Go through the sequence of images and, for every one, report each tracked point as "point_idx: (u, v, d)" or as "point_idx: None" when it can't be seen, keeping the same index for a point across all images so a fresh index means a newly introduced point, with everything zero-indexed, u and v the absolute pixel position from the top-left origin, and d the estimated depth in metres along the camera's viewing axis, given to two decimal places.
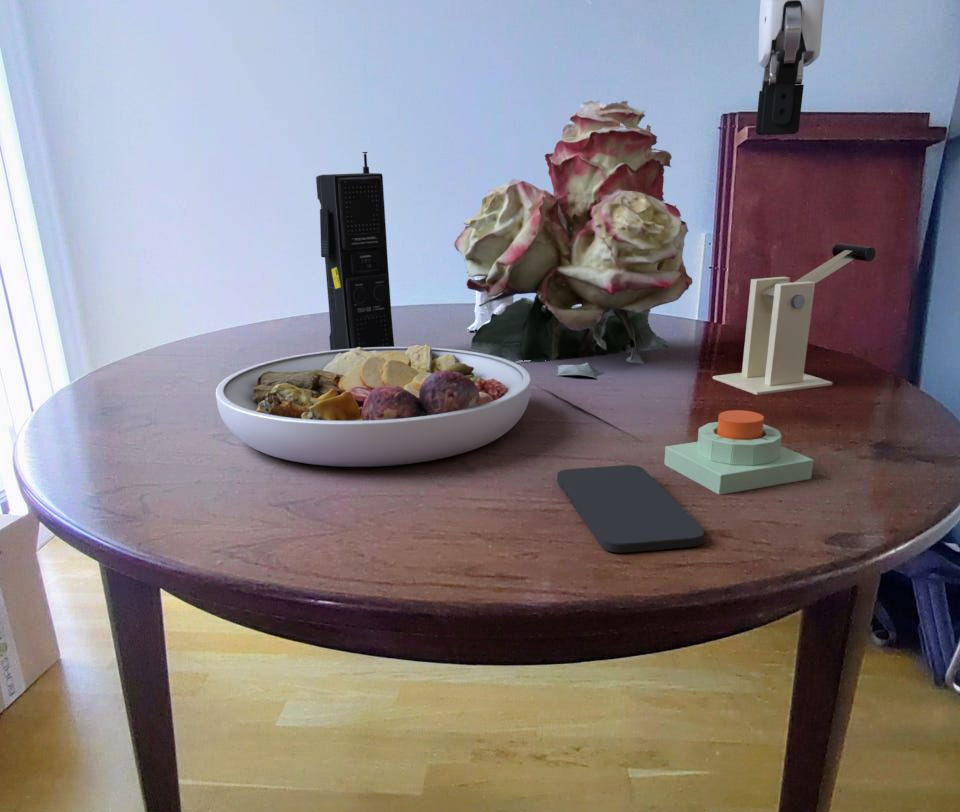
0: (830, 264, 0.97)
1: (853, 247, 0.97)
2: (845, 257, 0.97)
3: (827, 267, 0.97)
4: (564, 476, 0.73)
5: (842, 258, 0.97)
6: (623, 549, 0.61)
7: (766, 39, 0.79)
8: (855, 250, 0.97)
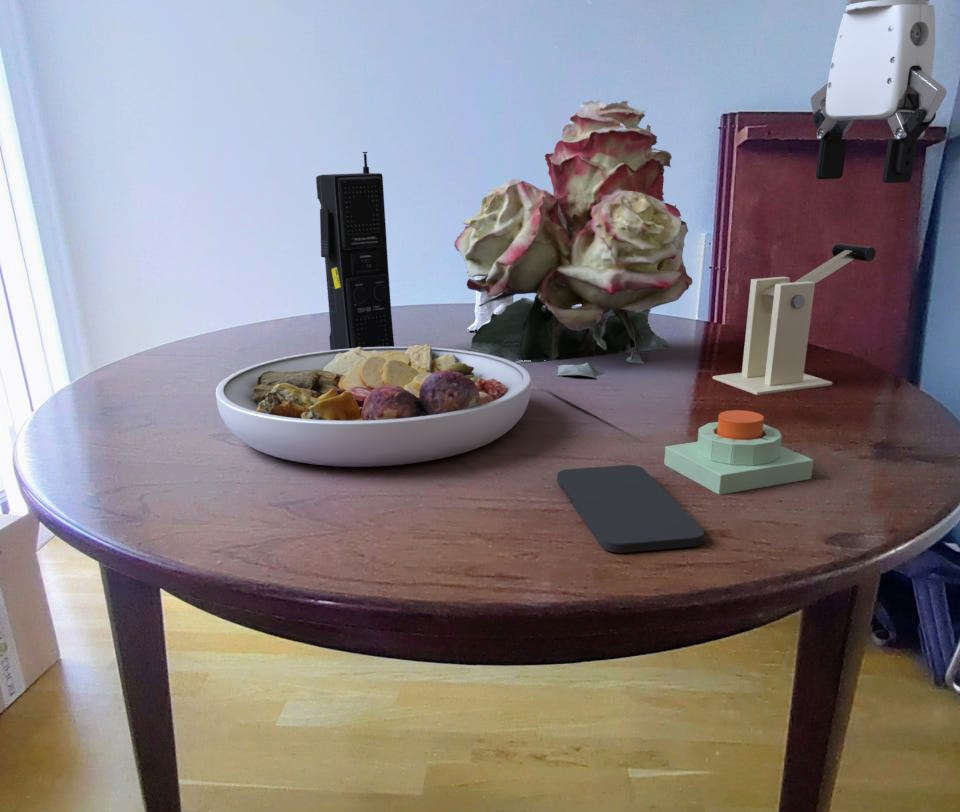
0: (830, 264, 0.97)
1: (853, 247, 0.97)
2: (845, 257, 0.97)
3: (827, 267, 0.97)
4: (564, 476, 0.73)
5: (842, 258, 0.97)
6: (623, 549, 0.61)
7: (893, 98, 0.88)
8: (855, 250, 0.97)
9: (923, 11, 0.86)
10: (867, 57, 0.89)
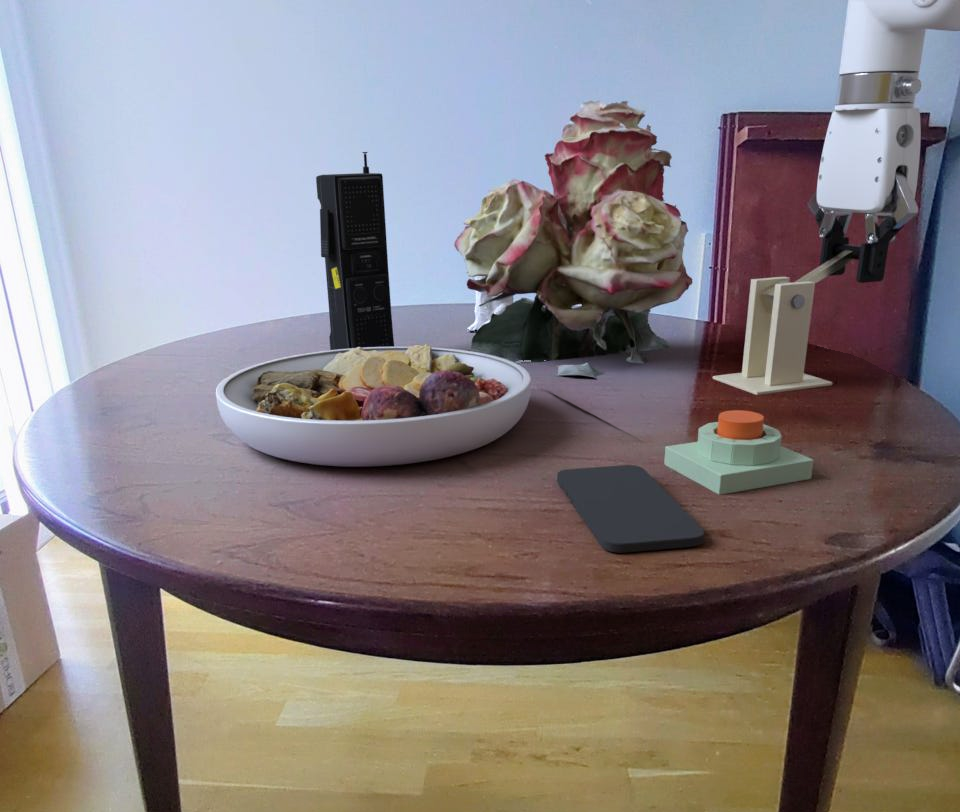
0: (830, 264, 0.97)
1: (853, 247, 0.97)
2: (845, 257, 0.97)
3: (827, 267, 0.97)
4: (564, 476, 0.73)
5: (842, 258, 0.97)
6: (623, 549, 0.61)
7: (880, 196, 0.91)
8: (855, 250, 0.97)
9: (908, 115, 0.89)
10: (855, 155, 0.92)
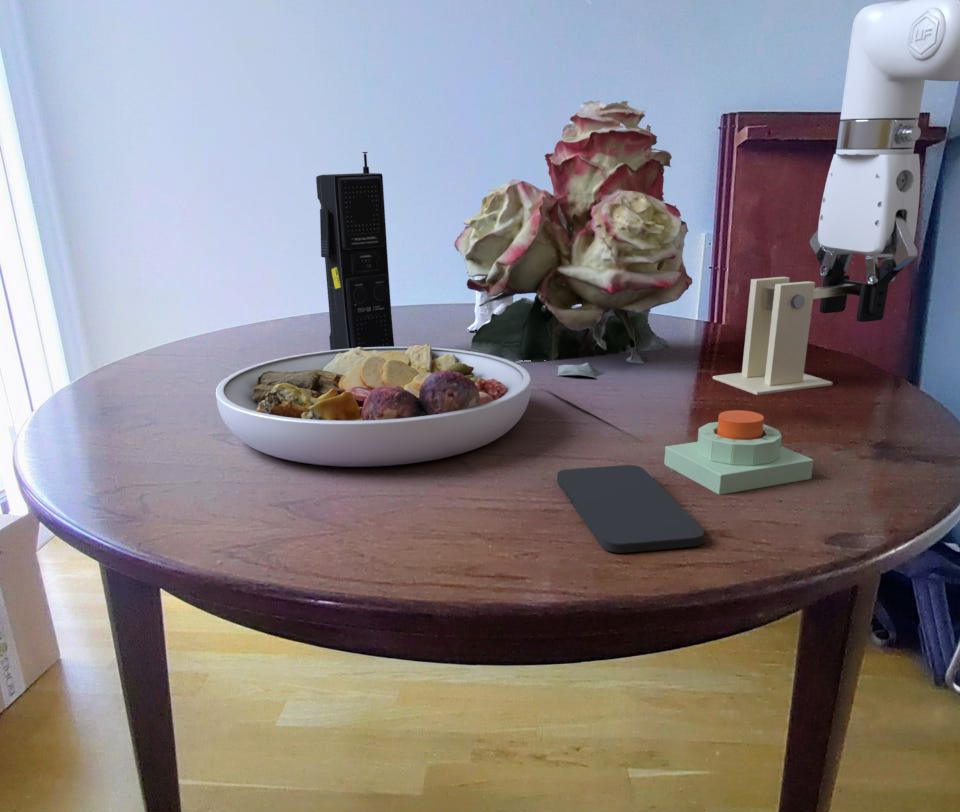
0: (833, 287, 0.98)
1: (857, 282, 0.99)
2: (847, 287, 0.99)
3: (829, 288, 0.98)
4: (564, 476, 0.73)
5: (844, 287, 0.99)
6: (623, 549, 0.61)
7: (880, 239, 0.93)
8: (858, 284, 0.99)
9: (908, 161, 0.91)
10: (856, 198, 0.94)
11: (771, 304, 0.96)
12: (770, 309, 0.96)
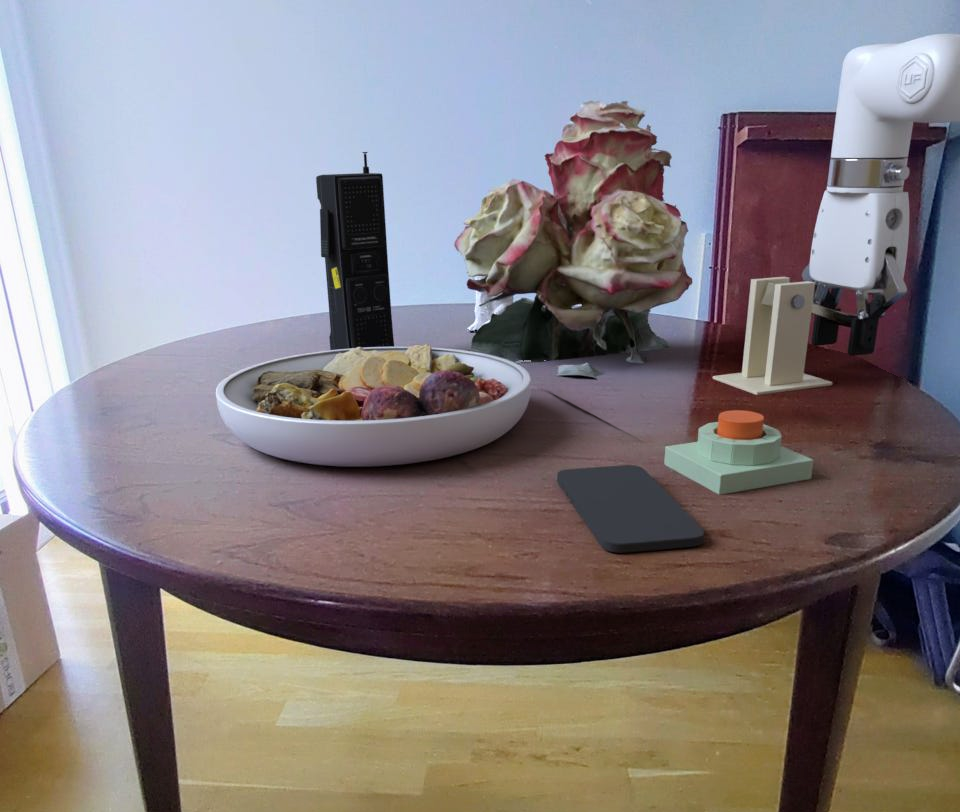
0: (829, 309, 0.99)
1: (851, 314, 1.00)
2: (841, 315, 1.00)
3: (826, 308, 0.99)
4: (564, 476, 0.73)
5: (839, 313, 1.00)
6: (623, 549, 0.61)
7: (870, 275, 0.94)
8: (851, 315, 1.00)
9: (897, 199, 0.92)
10: (846, 235, 0.96)
11: (771, 299, 0.96)
12: (768, 304, 0.96)
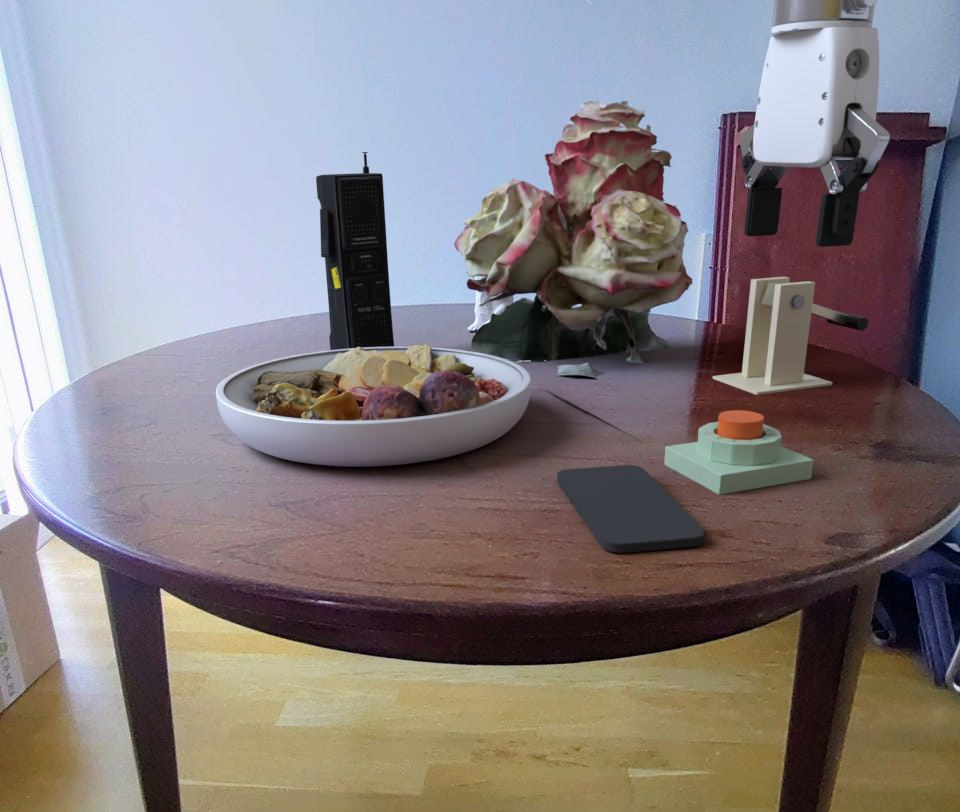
0: (829, 309, 0.99)
1: (850, 314, 1.00)
2: (841, 315, 1.00)
3: (826, 308, 0.99)
4: (564, 476, 0.73)
5: (839, 313, 1.00)
6: (623, 549, 0.61)
7: (825, 143, 0.70)
8: (851, 316, 1.00)
9: (862, 36, 0.68)
10: (796, 91, 0.72)
11: (771, 299, 0.96)
12: (768, 304, 0.96)
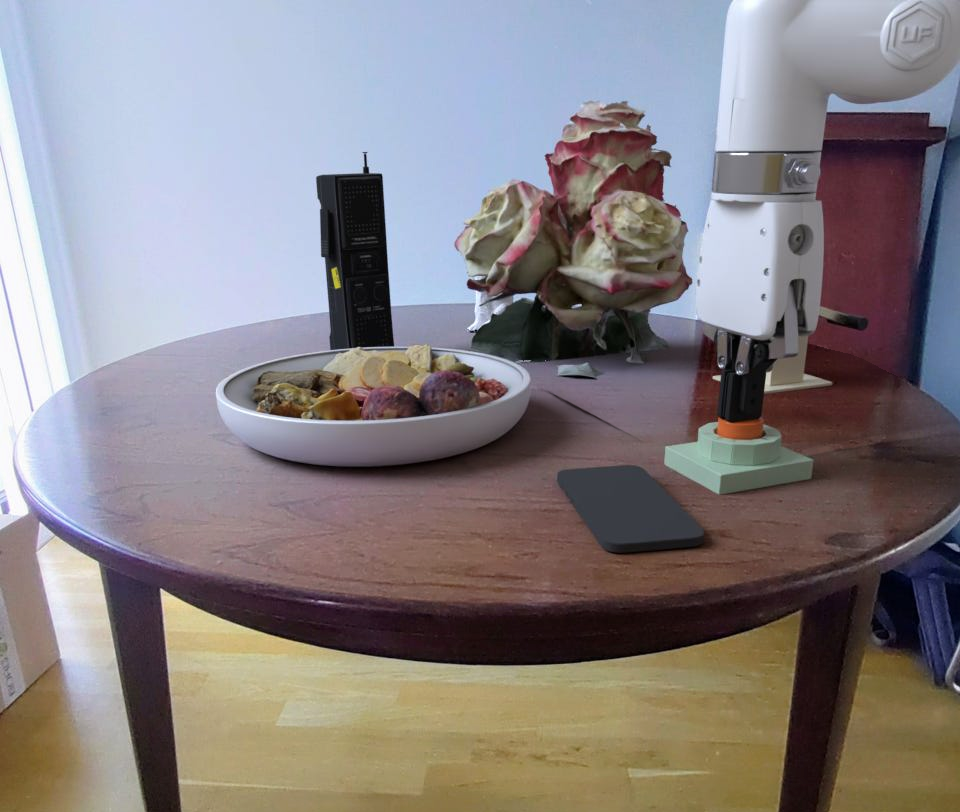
0: (829, 309, 0.99)
1: (850, 314, 1.00)
2: (841, 315, 1.00)
3: (826, 308, 0.99)
4: (564, 476, 0.73)
5: (839, 313, 1.00)
6: (623, 549, 0.61)
7: (768, 320, 0.66)
8: (851, 316, 1.00)
9: (805, 211, 0.64)
10: (737, 261, 0.67)
11: None
12: None
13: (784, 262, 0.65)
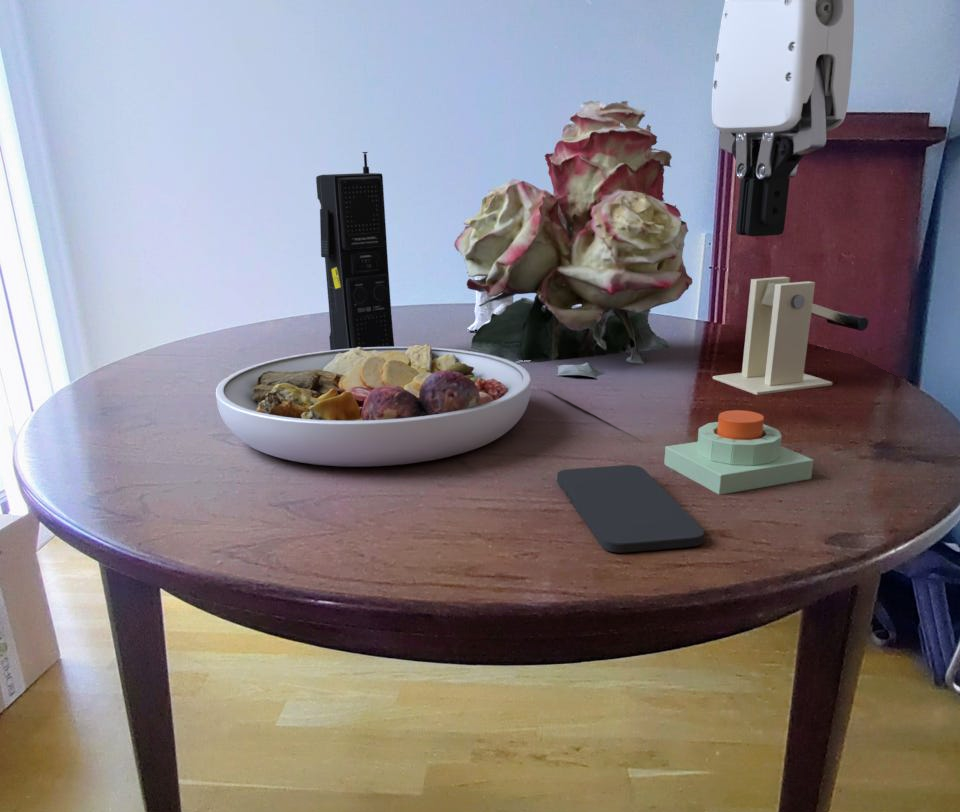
0: (829, 309, 0.99)
1: (850, 314, 1.00)
2: (841, 315, 1.00)
3: (826, 308, 0.99)
4: (564, 476, 0.73)
5: (839, 313, 1.00)
6: (623, 549, 0.61)
7: (794, 102, 0.60)
8: (851, 316, 1.00)
9: None
10: (759, 43, 0.62)
11: (771, 299, 0.96)
12: (768, 304, 0.96)
13: (811, 33, 0.59)
